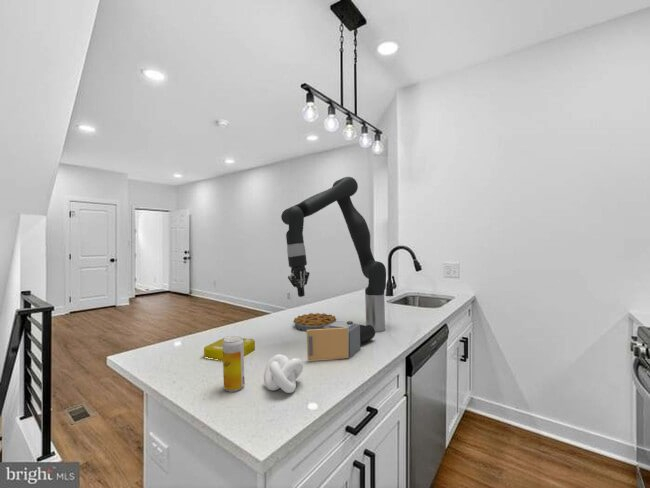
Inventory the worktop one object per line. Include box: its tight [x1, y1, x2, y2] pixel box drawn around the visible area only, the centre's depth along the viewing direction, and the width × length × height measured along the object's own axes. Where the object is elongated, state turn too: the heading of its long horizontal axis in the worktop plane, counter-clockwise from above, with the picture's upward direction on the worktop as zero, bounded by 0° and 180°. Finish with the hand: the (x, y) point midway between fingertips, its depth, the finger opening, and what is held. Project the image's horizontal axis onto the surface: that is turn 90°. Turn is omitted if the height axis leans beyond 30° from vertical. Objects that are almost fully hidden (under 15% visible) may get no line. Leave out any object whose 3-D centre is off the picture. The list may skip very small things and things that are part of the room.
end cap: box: [360, 324, 376, 345], centre depth 131 cm, size 10×7×7 cm
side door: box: [306, 328, 350, 361], centre depth 112 cm, size 2×15×11 cm, turn 96°
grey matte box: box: [323, 320, 361, 359], centre depth 121 cm, size 10×12×11 cm
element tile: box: [203, 336, 256, 361], centre depth 122 cm, size 15×15×5 cm
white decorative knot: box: [263, 354, 304, 394], centre depth 91 cm, size 11×12×9 cm
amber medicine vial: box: [222, 335, 246, 393], centre depth 93 cm, size 6×6×15 cm
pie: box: [293, 312, 337, 332], centre depth 157 cm, size 22×22×5 cm
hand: (301, 296), depth 127 cm, fingers closed
